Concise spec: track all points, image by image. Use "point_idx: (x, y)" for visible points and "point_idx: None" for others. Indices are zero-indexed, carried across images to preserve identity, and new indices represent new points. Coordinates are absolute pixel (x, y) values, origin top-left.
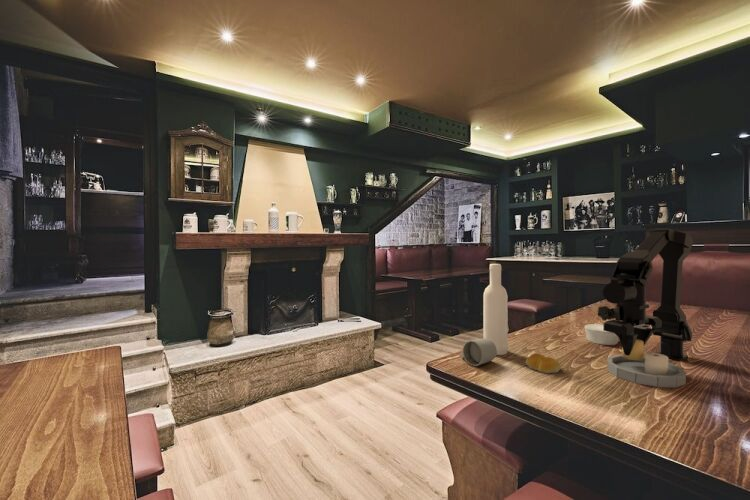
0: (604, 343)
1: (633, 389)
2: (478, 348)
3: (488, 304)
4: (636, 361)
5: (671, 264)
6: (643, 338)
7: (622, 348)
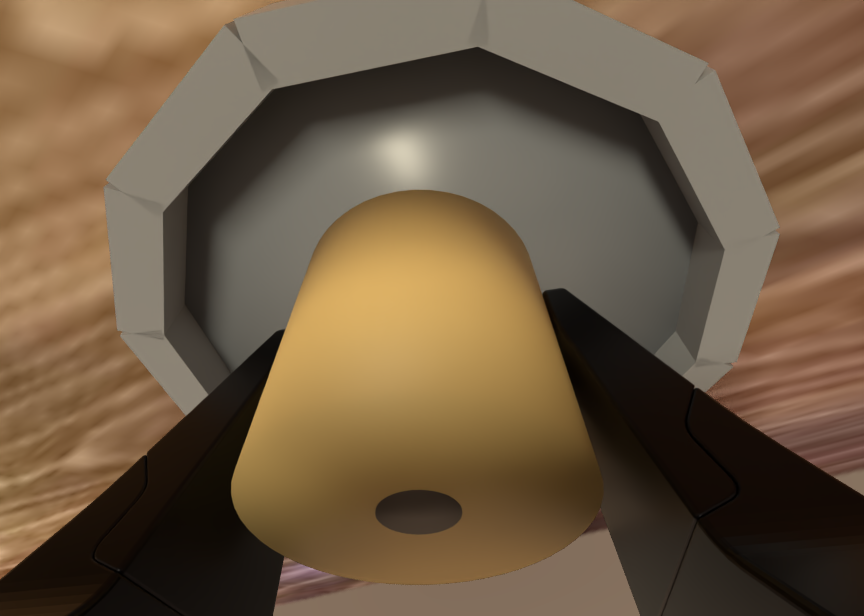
0: None
1: (144, 418)
2: None
3: None
4: (633, 134)
5: None
6: (634, 566)
7: (292, 315)
